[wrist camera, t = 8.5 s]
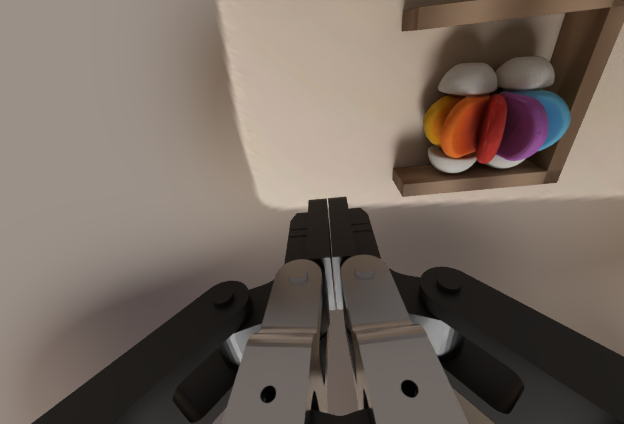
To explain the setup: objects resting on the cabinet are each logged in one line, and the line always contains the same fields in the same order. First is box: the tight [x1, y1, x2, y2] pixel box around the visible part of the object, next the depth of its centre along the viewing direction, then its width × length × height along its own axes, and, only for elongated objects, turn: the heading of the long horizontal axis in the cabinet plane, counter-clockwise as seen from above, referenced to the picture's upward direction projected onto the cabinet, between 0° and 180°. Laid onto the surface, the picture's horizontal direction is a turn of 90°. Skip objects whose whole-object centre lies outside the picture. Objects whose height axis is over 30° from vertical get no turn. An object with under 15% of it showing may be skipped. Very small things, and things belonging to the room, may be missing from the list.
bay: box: [393, 0, 624, 197], centre depth 22 cm, size 13×14×4 cm
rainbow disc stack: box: [423, 56, 571, 173], centre depth 21 cm, size 8×10×7 cm
